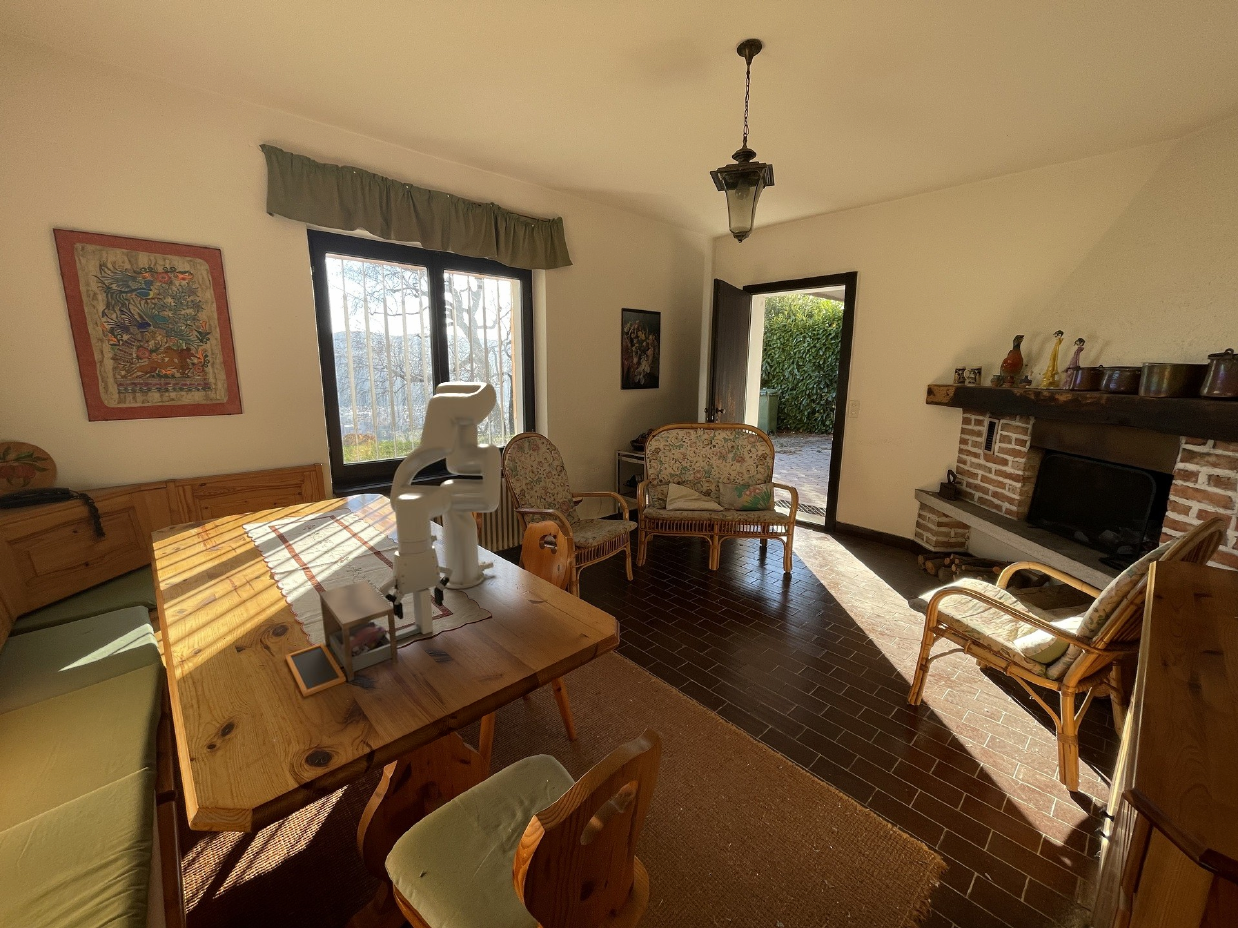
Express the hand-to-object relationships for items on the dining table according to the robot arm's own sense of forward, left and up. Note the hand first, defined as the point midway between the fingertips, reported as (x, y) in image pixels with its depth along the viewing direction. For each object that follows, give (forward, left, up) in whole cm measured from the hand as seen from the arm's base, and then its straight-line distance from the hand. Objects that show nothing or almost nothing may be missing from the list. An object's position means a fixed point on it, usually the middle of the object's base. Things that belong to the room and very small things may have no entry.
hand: (419, 610), depth 122 cm
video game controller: (+13, 0, -6) cm, 14 cm away
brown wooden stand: (+14, 0, -6) cm, 15 cm away
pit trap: (+23, 0, -6) cm, 24 cm away
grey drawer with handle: (+8, 0, -5) cm, 10 cm away
